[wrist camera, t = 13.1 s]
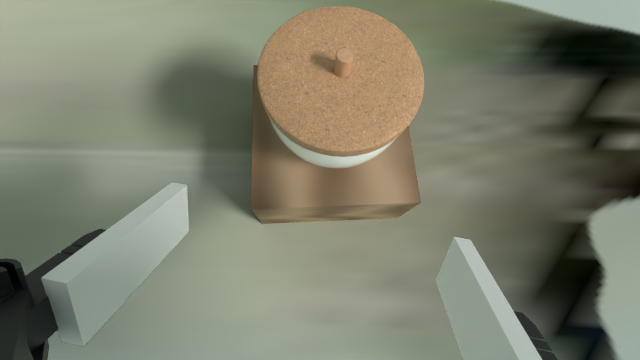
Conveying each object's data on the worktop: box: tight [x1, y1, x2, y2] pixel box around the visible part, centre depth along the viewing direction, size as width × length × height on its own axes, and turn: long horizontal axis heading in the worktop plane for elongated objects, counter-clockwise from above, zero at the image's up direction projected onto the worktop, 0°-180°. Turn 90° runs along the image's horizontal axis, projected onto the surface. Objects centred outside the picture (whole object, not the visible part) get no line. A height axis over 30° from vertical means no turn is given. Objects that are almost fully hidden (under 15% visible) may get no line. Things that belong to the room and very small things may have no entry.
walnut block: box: [251, 65, 421, 224], centre depth 30 cm, size 14×14×7 cm
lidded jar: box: [257, 6, 424, 168], centre depth 22 cm, size 11×11×9 cm
